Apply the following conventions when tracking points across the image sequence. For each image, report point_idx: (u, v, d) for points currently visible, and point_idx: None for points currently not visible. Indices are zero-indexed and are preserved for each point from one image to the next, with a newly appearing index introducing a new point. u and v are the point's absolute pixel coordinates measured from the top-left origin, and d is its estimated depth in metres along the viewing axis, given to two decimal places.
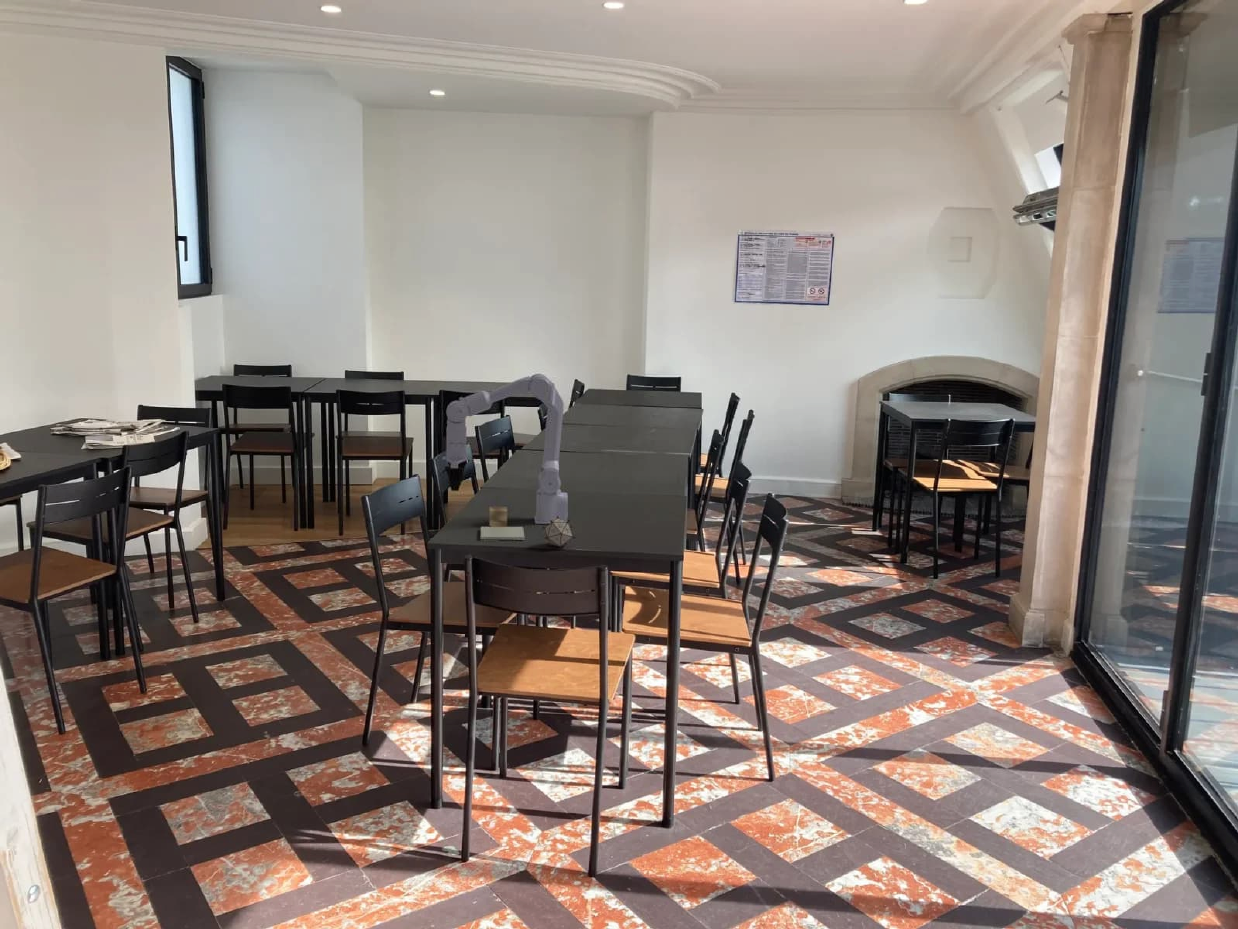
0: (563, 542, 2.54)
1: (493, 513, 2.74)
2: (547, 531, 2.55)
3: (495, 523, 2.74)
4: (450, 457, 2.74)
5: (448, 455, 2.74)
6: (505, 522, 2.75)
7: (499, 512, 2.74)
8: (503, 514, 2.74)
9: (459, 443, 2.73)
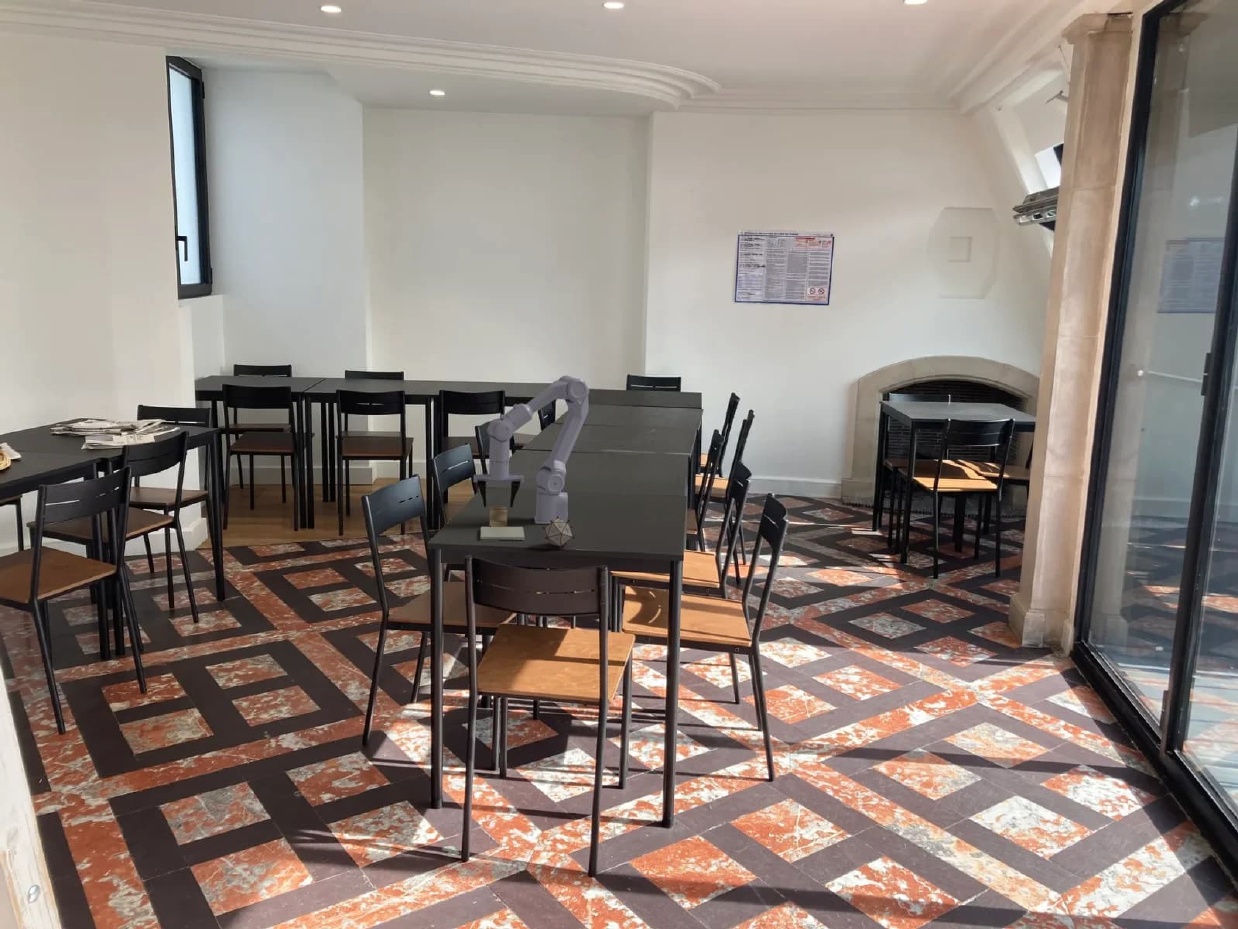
0: (563, 542, 2.54)
1: (493, 513, 2.74)
2: (547, 531, 2.55)
3: (495, 523, 2.74)
4: None
5: None
6: (505, 522, 2.75)
7: (499, 512, 2.74)
8: (503, 514, 2.74)
9: (490, 460, 2.72)
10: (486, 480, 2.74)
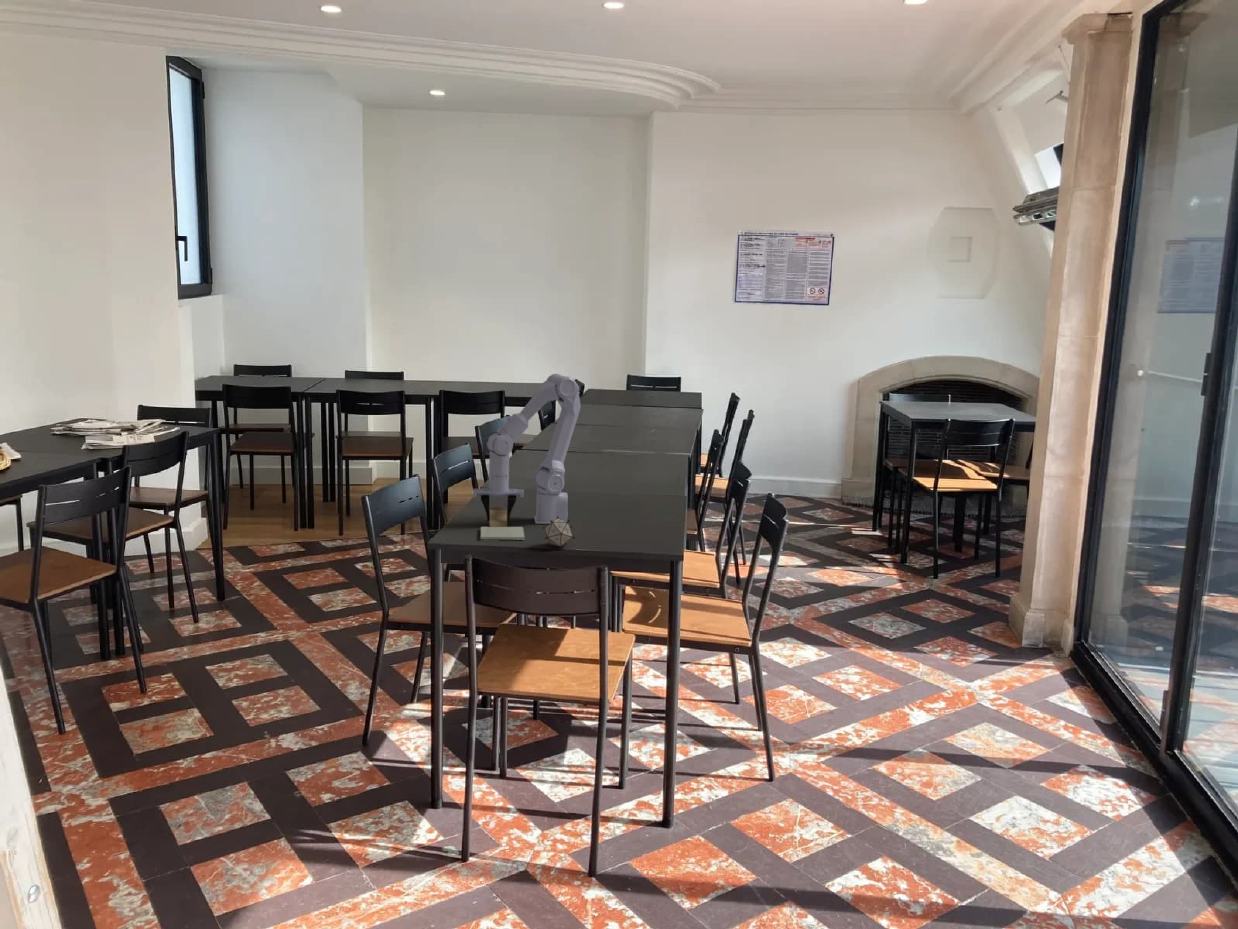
0: (563, 542, 2.54)
1: (493, 513, 2.74)
2: (547, 531, 2.55)
3: (495, 522, 2.74)
4: None
5: None
6: (505, 522, 2.75)
7: (499, 512, 2.74)
8: (503, 514, 2.74)
9: (490, 475, 2.73)
10: (486, 494, 2.75)
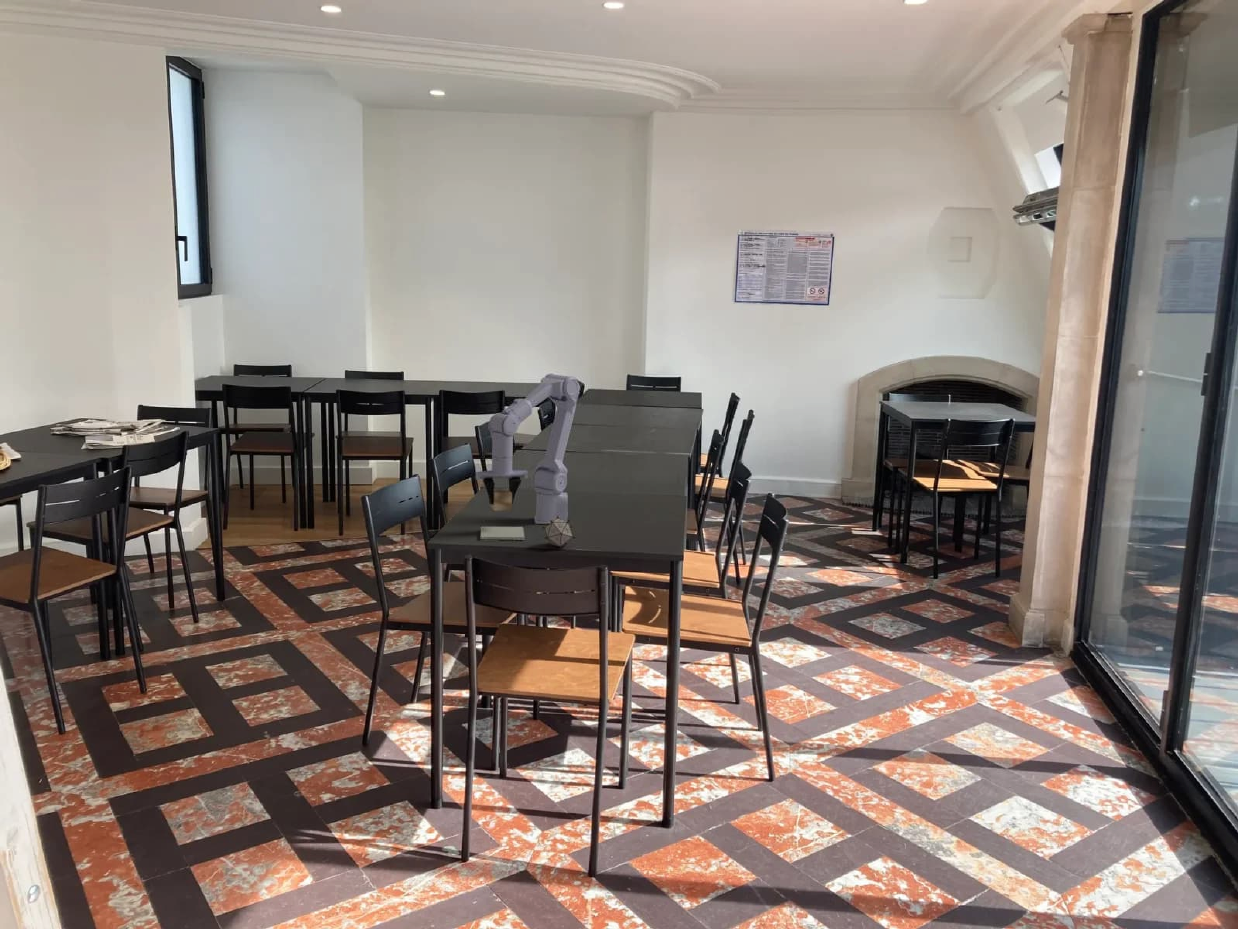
0: (563, 542, 2.54)
1: (498, 496, 2.64)
2: (547, 531, 2.55)
3: (500, 505, 2.65)
4: None
5: None
6: (510, 504, 2.66)
7: (504, 494, 2.65)
8: (508, 497, 2.66)
9: (494, 456, 2.63)
10: (489, 477, 2.64)
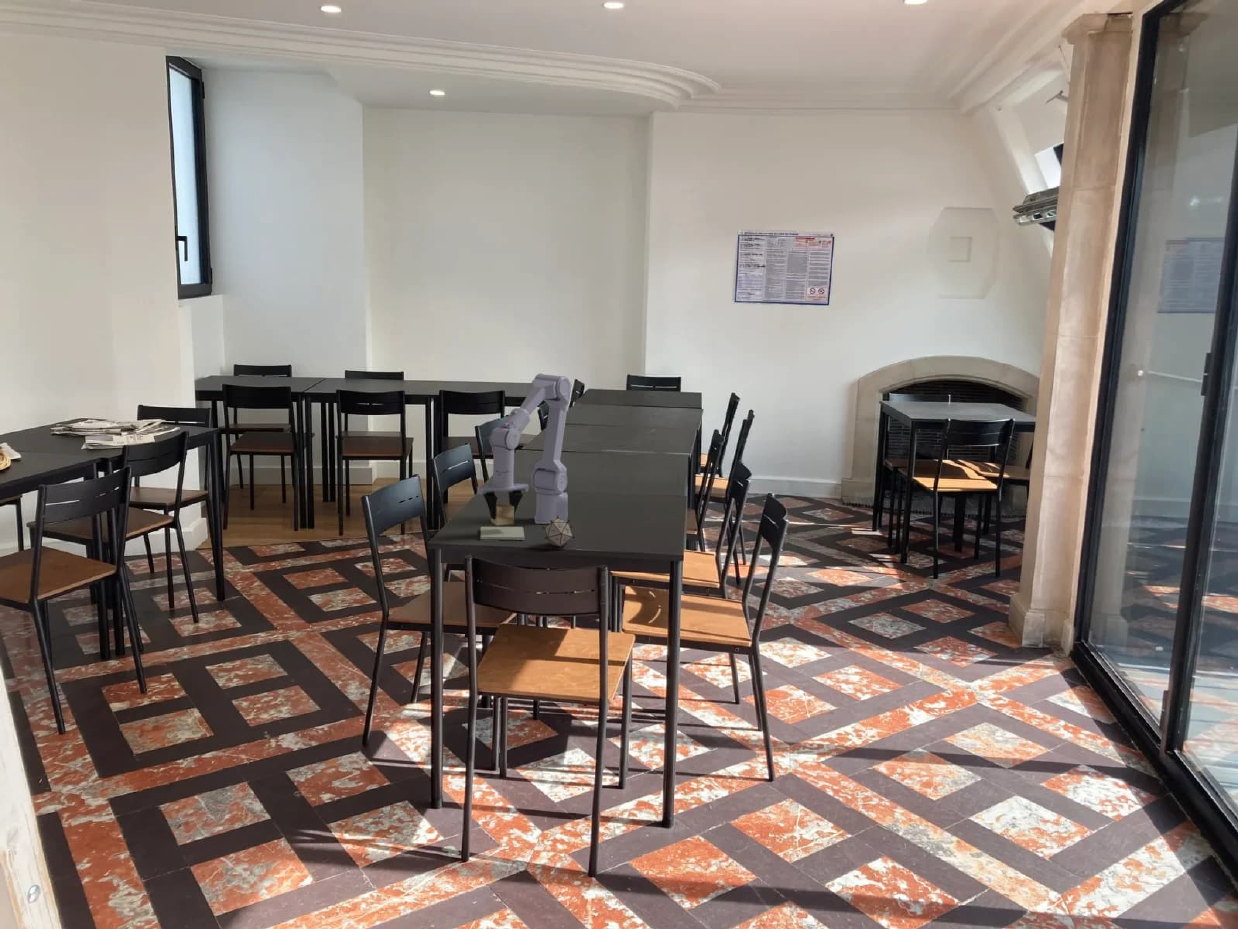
0: (563, 542, 2.54)
1: (500, 510, 2.62)
2: (547, 531, 2.55)
3: (502, 520, 2.63)
4: (493, 484, 2.64)
5: None
6: (512, 518, 2.64)
7: (506, 508, 2.63)
8: (510, 511, 2.63)
9: (496, 471, 2.60)
10: (491, 491, 2.62)
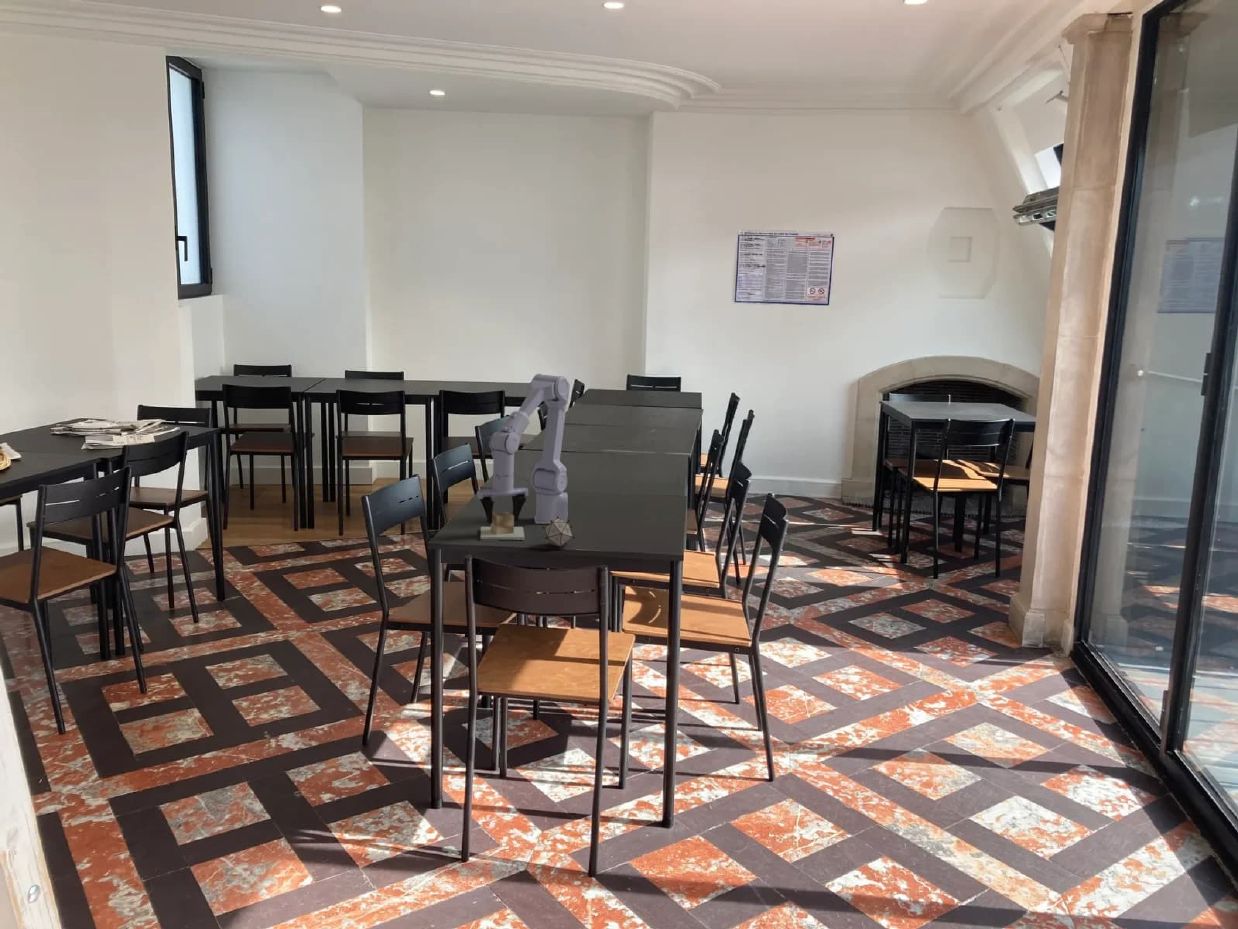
0: (563, 542, 2.54)
1: (500, 519, 2.63)
2: (547, 531, 2.55)
3: (502, 529, 2.63)
4: (493, 488, 2.64)
5: None
6: (512, 527, 2.65)
7: (506, 518, 2.63)
8: (510, 520, 2.64)
9: (495, 475, 2.61)
10: (491, 496, 2.62)
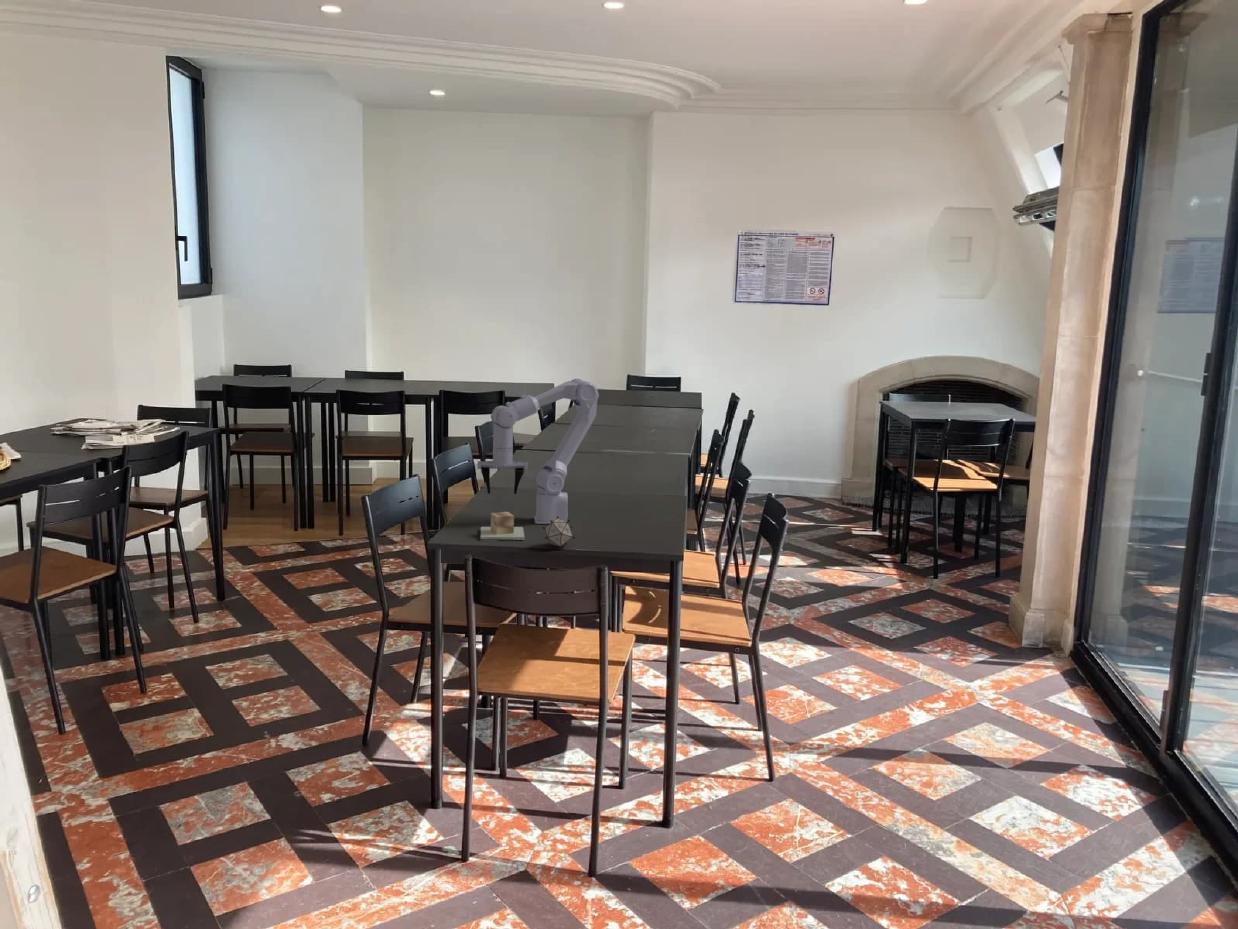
0: (563, 542, 2.54)
1: (500, 519, 2.63)
2: (547, 531, 2.55)
3: (502, 529, 2.63)
4: None
5: None
6: (512, 527, 2.65)
7: (506, 518, 2.63)
8: (510, 520, 2.64)
9: (493, 447, 2.73)
10: (490, 467, 2.74)
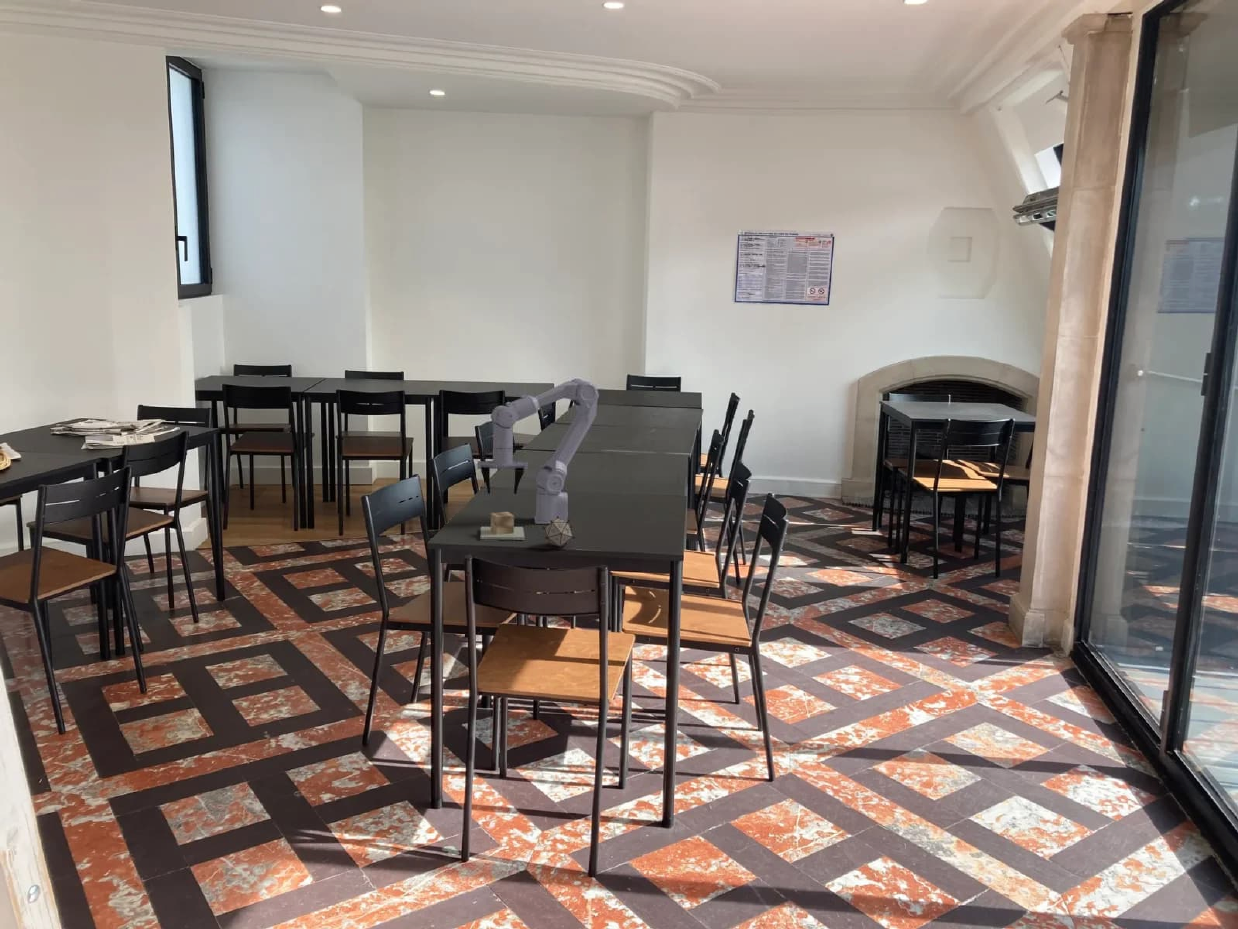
0: (563, 542, 2.54)
1: (500, 519, 2.63)
2: (547, 531, 2.55)
3: (502, 529, 2.63)
4: None
5: None
6: (512, 527, 2.65)
7: (506, 518, 2.63)
8: (510, 520, 2.64)
9: (493, 447, 2.73)
10: (490, 467, 2.74)
